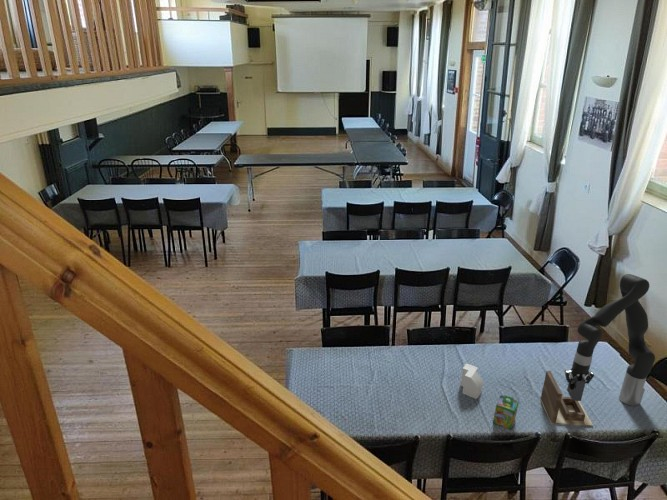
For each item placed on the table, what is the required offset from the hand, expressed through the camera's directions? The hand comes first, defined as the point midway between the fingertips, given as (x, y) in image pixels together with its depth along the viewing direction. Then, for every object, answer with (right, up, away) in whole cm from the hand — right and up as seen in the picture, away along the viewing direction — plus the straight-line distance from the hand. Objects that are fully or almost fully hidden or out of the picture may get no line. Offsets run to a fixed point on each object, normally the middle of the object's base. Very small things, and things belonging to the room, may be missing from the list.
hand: (575, 388), depth 244 cm
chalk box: (-36, -17, +1) cm, 39 cm away
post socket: (-3, -14, +6) cm, 16 cm away
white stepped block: (-47, -7, +23) cm, 52 cm away
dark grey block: (0, -4, +2) cm, 4 cm away
